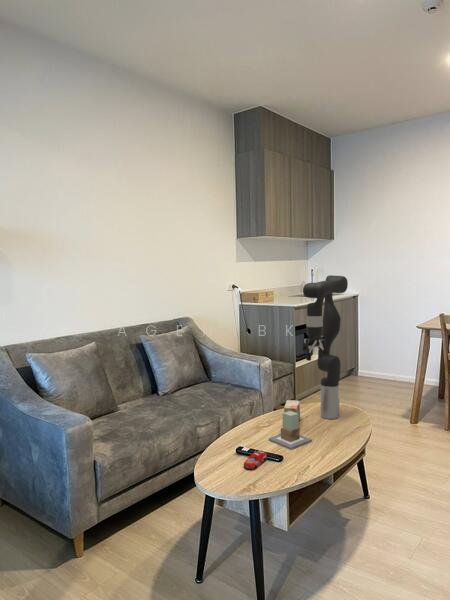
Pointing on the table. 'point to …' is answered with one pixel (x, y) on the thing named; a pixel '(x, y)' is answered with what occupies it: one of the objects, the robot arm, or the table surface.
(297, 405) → the stack of blocks
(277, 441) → the board
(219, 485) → the table surface
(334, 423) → the table surface
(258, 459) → the race car
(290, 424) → the sage block
